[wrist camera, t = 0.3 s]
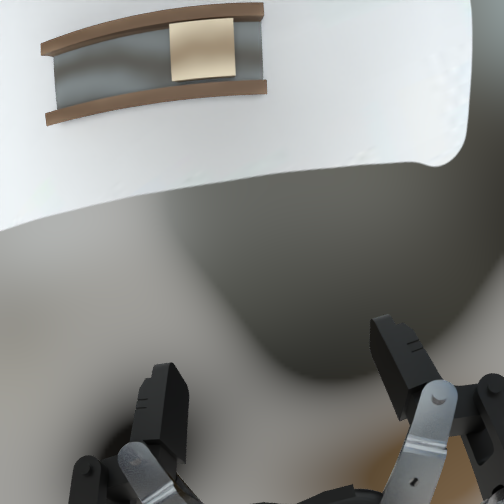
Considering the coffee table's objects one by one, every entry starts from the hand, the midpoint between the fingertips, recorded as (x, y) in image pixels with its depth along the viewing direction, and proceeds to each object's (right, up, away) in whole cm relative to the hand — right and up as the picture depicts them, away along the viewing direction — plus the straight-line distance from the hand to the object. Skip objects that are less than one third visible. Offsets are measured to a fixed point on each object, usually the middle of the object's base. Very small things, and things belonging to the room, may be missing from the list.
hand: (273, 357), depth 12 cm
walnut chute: (-12, +25, +17) cm, 32 cm away
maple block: (-6, +25, +16) cm, 30 cm away
